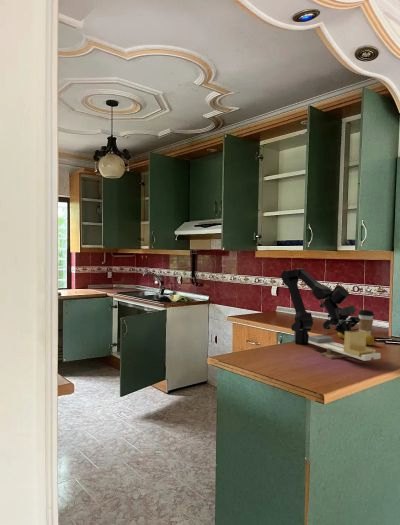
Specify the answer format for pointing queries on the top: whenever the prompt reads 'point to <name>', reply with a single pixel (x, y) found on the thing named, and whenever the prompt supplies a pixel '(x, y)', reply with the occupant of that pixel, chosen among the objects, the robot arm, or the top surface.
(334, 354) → the beam stand
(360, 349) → the block
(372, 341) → the food
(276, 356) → the top surface
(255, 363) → the top surface
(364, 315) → the coffee cup
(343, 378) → the top surface
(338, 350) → the white twin rails
